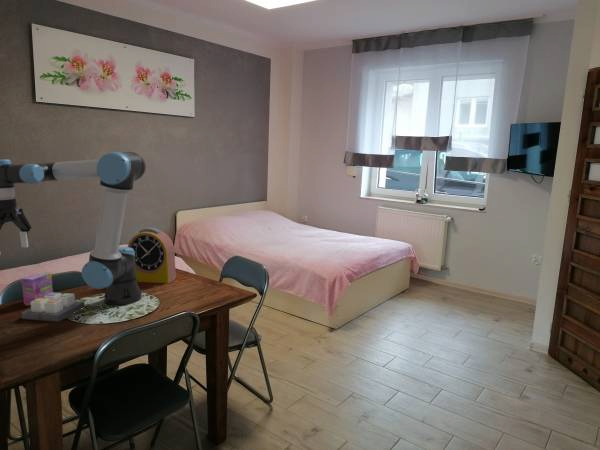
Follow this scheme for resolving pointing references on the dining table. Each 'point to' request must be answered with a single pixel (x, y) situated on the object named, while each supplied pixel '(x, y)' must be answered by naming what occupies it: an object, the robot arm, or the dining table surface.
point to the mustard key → (38, 305)
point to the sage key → (67, 299)
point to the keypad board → (53, 316)
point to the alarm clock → (153, 256)
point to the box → (36, 286)
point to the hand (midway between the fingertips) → (11, 250)
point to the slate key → (52, 296)
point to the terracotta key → (53, 306)
